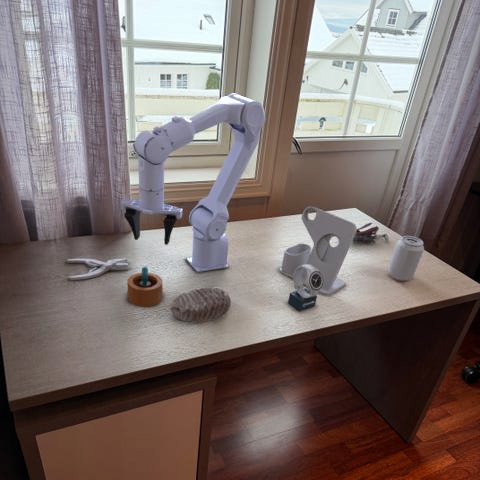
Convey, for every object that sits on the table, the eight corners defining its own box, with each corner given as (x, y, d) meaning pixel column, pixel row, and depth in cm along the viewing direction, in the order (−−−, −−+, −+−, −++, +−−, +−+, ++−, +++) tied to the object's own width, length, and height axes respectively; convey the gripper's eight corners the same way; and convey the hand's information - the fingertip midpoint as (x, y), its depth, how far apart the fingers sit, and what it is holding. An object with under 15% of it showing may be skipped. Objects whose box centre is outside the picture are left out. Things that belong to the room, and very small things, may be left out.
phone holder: (276, 270, 127) (287, 210, 117) (297, 260, 134) (309, 203, 124) (326, 296, 119) (343, 234, 108) (346, 284, 125) (363, 224, 115)
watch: (304, 315, 110) (313, 277, 104) (283, 299, 115) (290, 262, 108) (320, 310, 113) (330, 272, 106) (299, 294, 118) (307, 257, 111)
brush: (148, 292, 110) (148, 263, 106) (152, 297, 108) (152, 268, 104) (138, 294, 109) (137, 265, 104) (141, 299, 107) (141, 270, 103)
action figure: (372, 235, 158) (333, 239, 149) (377, 219, 155) (337, 222, 146) (388, 243, 152) (348, 248, 144) (394, 227, 149) (353, 230, 140)
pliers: (66, 256, 118) (124, 252, 123) (67, 261, 119) (124, 257, 124) (68, 274, 110) (130, 270, 115) (69, 280, 111) (130, 275, 116)
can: (413, 274, 135) (427, 238, 128) (410, 285, 129) (424, 248, 122) (388, 267, 137) (401, 231, 130) (384, 277, 131) (397, 240, 124)
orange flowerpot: (155, 286, 114) (155, 270, 111) (167, 302, 108) (167, 286, 105) (123, 291, 110) (123, 275, 107) (134, 309, 104) (133, 292, 102)
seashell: (217, 285, 112) (224, 266, 103) (233, 317, 110) (242, 301, 100) (163, 304, 107) (166, 287, 98) (179, 338, 105) (183, 324, 95)
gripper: (115, 188, 101) (118, 242, 108) (177, 197, 100) (176, 252, 108) (125, 178, 106) (128, 231, 114) (185, 187, 105) (183, 240, 113)
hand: (152, 240), depth 111 cm, fingers open, 7 cm apart
